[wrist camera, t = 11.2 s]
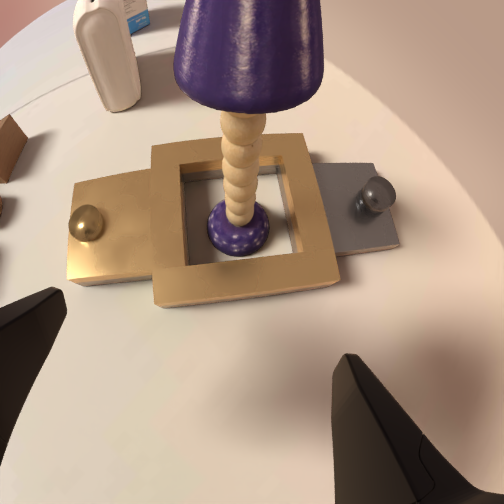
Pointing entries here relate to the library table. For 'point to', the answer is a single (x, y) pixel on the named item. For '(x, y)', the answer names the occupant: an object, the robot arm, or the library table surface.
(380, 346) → the library table surface
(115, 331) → the library table surface
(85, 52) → the white rounded block
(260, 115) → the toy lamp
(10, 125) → the wooden block set
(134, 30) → the ink box
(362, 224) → the square frame bracket
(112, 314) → the library table surface
